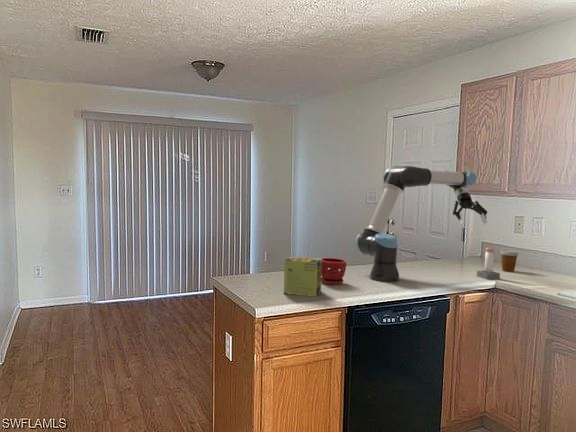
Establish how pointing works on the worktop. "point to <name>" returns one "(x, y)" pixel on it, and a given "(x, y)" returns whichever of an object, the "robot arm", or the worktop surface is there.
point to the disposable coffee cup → (508, 260)
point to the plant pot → (332, 271)
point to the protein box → (302, 276)
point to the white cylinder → (489, 260)
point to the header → (488, 275)
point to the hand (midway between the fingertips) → (474, 223)
